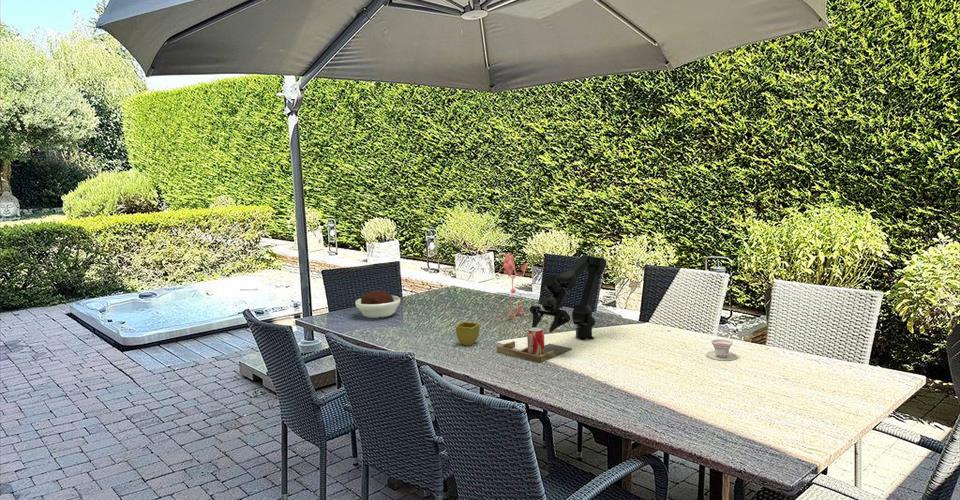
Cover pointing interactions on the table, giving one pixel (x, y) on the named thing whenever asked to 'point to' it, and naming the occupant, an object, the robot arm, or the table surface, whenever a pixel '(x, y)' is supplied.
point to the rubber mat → (556, 349)
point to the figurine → (508, 268)
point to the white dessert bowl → (377, 304)
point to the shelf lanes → (524, 353)
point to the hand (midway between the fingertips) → (541, 330)
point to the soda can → (535, 341)
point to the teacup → (721, 350)
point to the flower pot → (467, 332)
